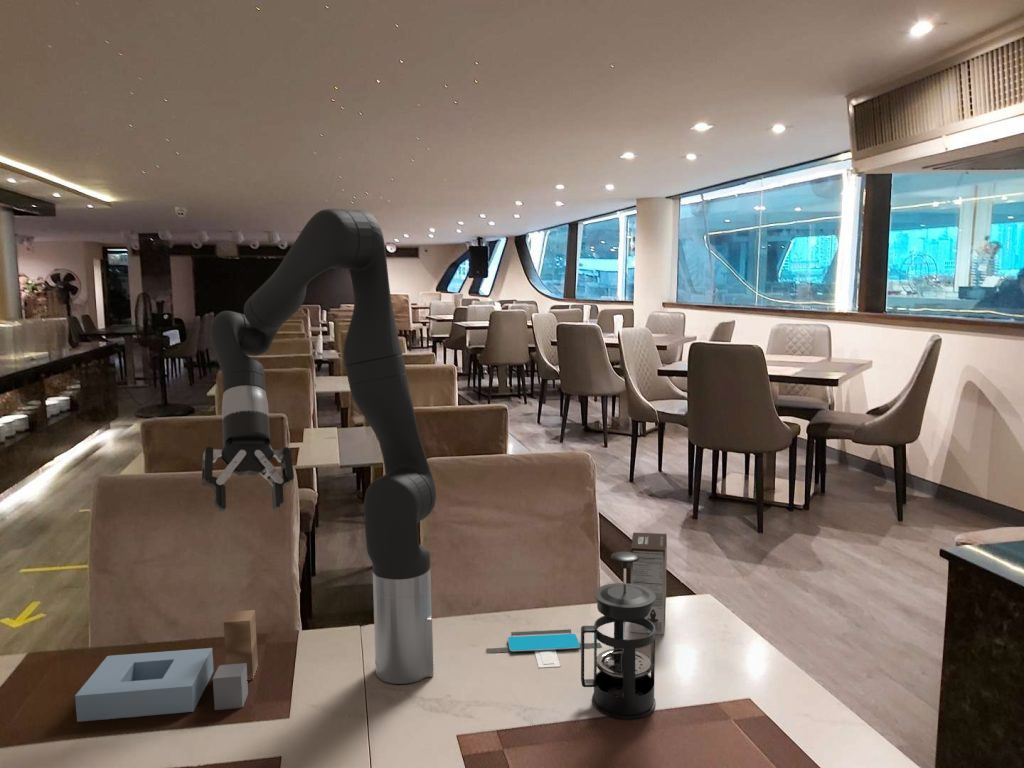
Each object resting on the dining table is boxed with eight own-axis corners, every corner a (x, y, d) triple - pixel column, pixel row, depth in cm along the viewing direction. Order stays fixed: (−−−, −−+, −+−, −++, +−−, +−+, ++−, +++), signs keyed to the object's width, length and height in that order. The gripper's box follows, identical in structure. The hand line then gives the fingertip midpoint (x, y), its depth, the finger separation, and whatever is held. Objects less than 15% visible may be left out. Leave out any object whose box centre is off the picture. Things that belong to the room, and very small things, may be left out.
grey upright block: (248, 693, 114) (246, 663, 113) (242, 707, 110) (241, 676, 109) (221, 695, 113) (219, 665, 112) (214, 710, 109) (212, 678, 108)
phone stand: (488, 674, 120) (488, 664, 120) (485, 640, 132) (484, 631, 131) (609, 667, 122) (609, 658, 121) (594, 634, 133) (594, 626, 133)
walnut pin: (257, 667, 121) (254, 609, 120) (253, 680, 117) (250, 620, 116) (232, 669, 121) (229, 611, 120) (227, 682, 117) (223, 622, 116)
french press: (653, 685, 115) (655, 543, 112) (666, 719, 105) (668, 565, 103) (578, 686, 115) (578, 544, 112) (584, 720, 105) (585, 566, 103)
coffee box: (631, 611, 142) (632, 531, 140) (665, 614, 140) (666, 533, 139) (629, 632, 133) (630, 547, 131) (665, 635, 131) (667, 549, 130)
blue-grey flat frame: (213, 671, 120) (212, 647, 120) (193, 711, 109) (191, 686, 108) (109, 679, 118) (107, 655, 118) (77, 721, 106) (75, 695, 106)
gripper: (205, 407, 119) (207, 503, 113) (293, 410, 127) (300, 500, 121) (197, 425, 125) (199, 517, 119) (282, 426, 133) (288, 514, 126)
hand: (250, 509), depth 120 cm, fingers open, 8 cm apart
